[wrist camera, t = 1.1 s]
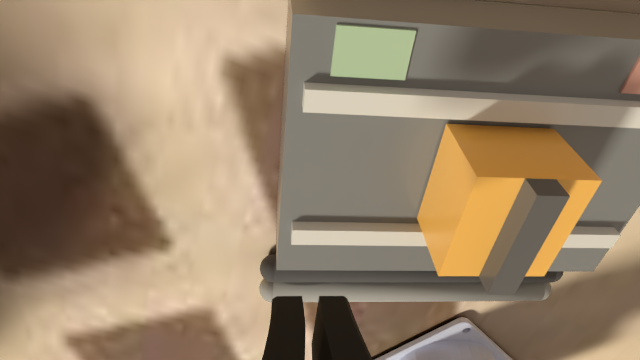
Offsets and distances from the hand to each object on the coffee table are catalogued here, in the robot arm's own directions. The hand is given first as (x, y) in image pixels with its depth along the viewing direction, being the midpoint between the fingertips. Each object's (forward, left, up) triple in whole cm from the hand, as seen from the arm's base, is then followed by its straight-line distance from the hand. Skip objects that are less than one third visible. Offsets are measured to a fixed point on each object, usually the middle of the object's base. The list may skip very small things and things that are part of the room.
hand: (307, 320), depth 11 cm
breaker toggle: (-5, -5, -6) cm, 9 cm away
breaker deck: (-5, -5, -9) cm, 12 cm away
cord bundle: (-11, +1, -9) cm, 15 cm away
